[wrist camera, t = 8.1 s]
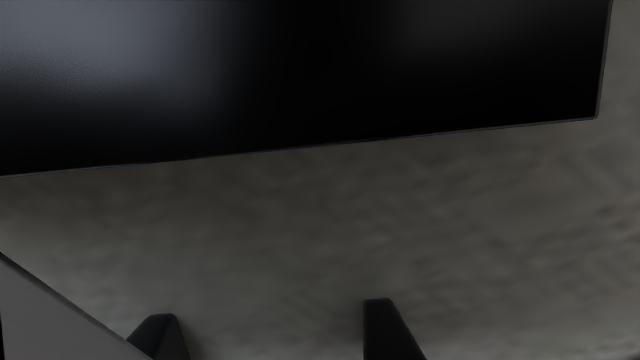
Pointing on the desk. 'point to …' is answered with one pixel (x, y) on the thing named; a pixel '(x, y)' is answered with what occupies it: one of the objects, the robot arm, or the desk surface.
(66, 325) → the lever
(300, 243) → the desk surface
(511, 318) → the desk surface
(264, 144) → the bracket
